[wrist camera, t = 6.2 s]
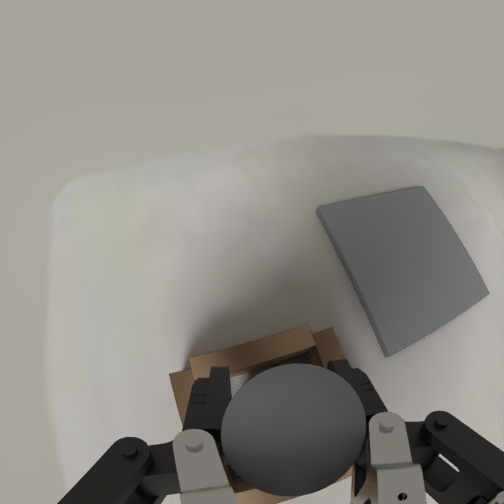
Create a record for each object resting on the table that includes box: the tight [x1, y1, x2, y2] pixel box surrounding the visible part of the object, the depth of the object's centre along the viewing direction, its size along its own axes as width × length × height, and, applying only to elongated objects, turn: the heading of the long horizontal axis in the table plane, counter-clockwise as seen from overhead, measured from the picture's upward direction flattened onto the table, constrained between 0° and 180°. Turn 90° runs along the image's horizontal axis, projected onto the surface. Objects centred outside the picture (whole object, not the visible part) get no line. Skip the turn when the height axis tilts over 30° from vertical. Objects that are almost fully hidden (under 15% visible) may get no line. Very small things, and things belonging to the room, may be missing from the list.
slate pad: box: [316, 186, 490, 358], centre depth 19 cm, size 12×12×1 cm
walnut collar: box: [169, 324, 352, 504], centre depth 13 cm, size 9×9×2 cm
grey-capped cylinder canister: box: [221, 364, 366, 496], centre depth 10 cm, size 4×4×8 cm
